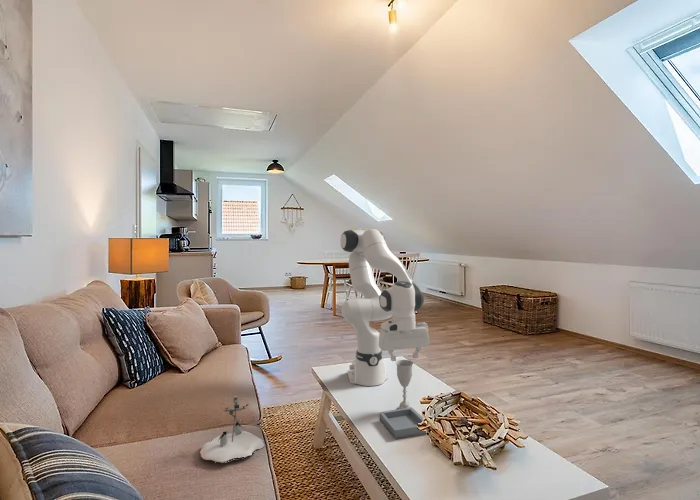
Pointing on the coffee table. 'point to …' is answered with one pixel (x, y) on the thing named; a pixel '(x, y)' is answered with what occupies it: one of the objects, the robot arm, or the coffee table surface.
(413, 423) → the tray
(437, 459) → the coffee table surface
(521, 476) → the coffee table surface
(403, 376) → the chalice
